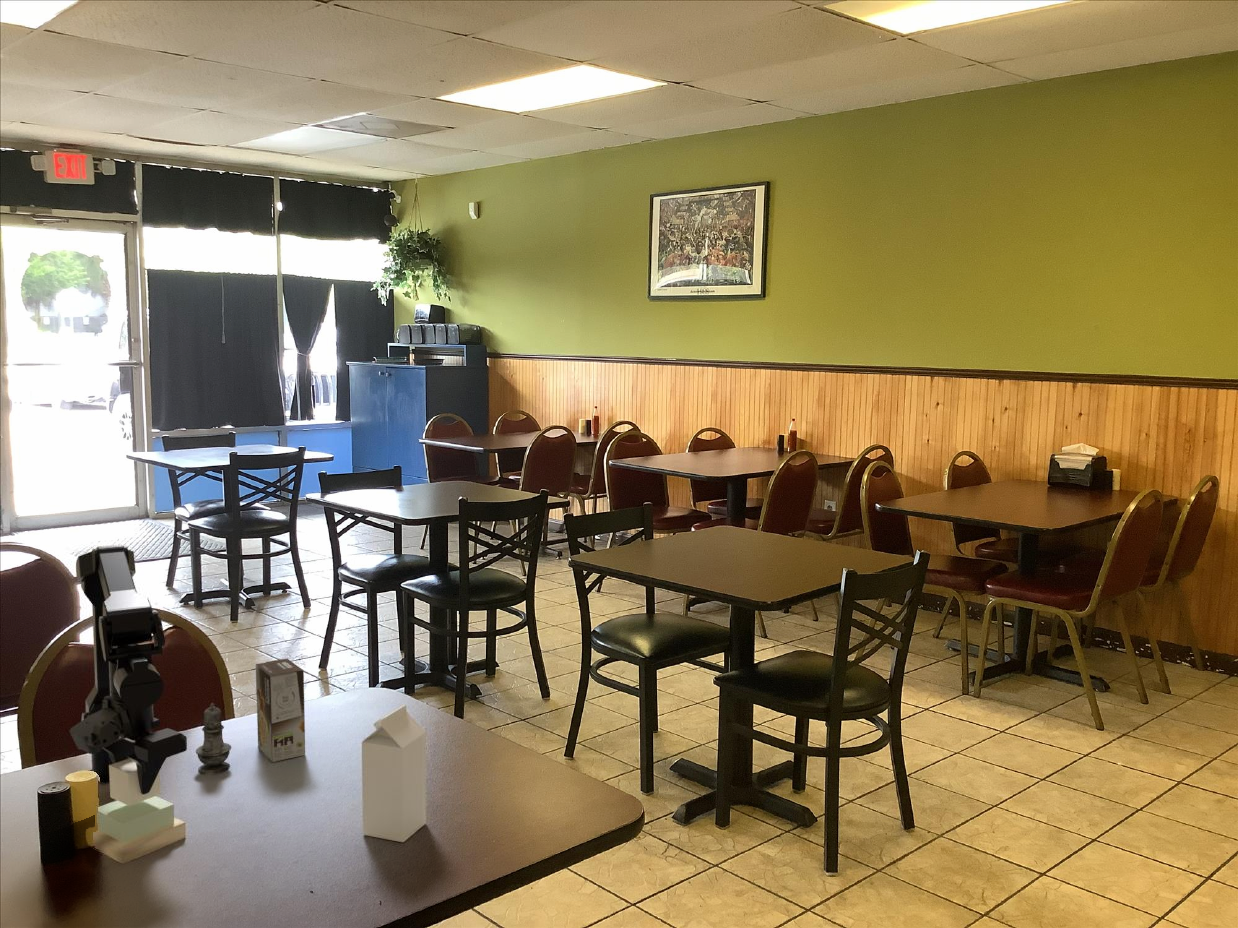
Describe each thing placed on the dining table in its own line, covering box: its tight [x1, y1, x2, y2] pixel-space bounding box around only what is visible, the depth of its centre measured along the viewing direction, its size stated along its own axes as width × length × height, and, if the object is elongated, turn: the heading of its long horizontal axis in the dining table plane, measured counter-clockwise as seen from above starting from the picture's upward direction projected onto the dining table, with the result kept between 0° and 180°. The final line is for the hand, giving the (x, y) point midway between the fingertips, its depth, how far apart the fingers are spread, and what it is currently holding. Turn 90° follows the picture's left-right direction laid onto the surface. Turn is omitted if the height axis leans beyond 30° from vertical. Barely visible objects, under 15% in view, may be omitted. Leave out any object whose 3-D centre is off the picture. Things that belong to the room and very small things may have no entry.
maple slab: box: [93, 816, 187, 864], centre depth 157 cm, size 10×10×3 cm
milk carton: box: [361, 704, 427, 843], centre depth 161 cm, size 7×7×19 cm
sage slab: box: [97, 795, 175, 843], centre depth 157 cm, size 8×8×3 cm
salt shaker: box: [195, 702, 232, 775], centre depth 184 cm, size 6×6×12 cm
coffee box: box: [255, 658, 306, 763], centre depth 192 cm, size 9×6×16 cm
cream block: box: [109, 759, 161, 806], centre depth 157 cm, size 5×5×5 cm
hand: (135, 788), depth 157 cm, fingers closed on cream block, 5 cm apart
